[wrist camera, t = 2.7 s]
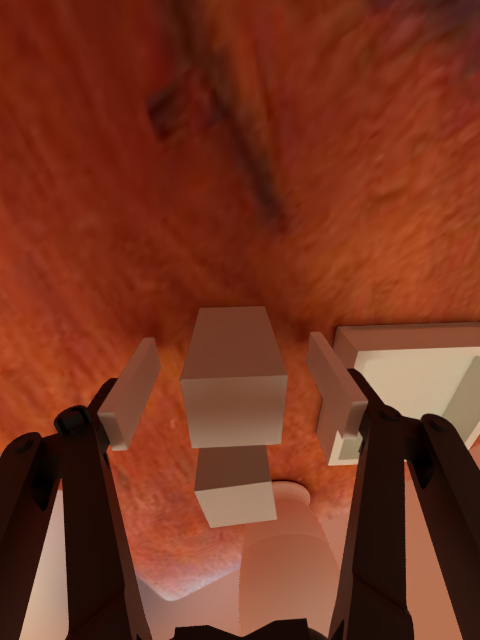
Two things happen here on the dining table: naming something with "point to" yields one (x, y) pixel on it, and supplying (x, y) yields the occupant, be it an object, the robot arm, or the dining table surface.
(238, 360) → the tall grey rectangular prism
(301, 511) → the jar
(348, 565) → the robot arm
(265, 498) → the grey rectangular block
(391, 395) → the bin
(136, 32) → the dining table surface
